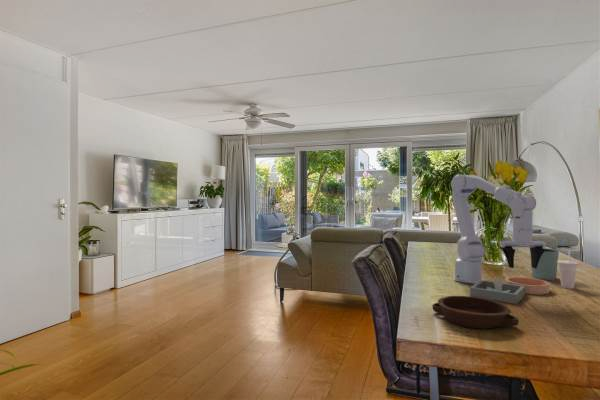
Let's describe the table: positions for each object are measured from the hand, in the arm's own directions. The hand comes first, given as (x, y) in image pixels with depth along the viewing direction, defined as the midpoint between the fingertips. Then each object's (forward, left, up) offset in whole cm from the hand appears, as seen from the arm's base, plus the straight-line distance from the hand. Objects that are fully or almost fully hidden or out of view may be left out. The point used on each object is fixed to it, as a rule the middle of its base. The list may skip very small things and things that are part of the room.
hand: (522, 267), depth 121 cm
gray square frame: (-6, -7, -10) cm, 13 cm away
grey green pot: (+2, +35, -10) cm, 37 cm away
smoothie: (+11, +22, -10) cm, 27 cm away
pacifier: (-6, -7, -10) cm, 14 cm away
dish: (-5, -39, -10) cm, 40 cm away
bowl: (0, +9, -10) cm, 14 cm away
